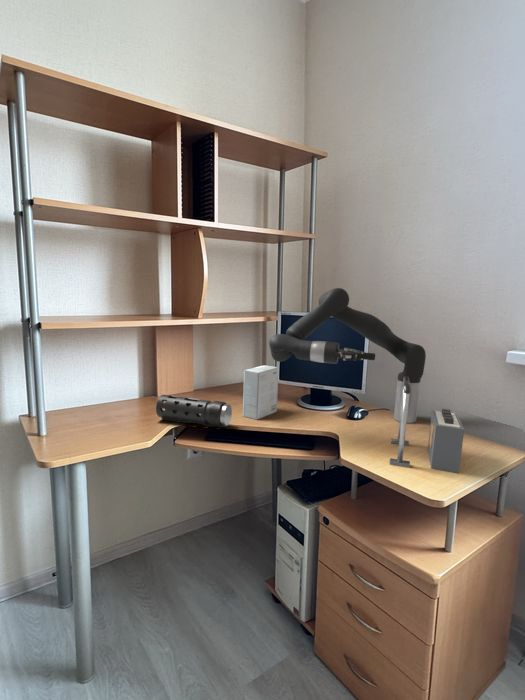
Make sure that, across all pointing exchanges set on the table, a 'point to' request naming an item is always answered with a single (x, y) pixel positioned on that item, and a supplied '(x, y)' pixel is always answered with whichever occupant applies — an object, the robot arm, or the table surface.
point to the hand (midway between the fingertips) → (375, 356)
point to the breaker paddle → (431, 434)
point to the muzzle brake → (194, 411)
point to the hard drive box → (260, 391)
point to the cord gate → (402, 427)
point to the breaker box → (446, 441)
